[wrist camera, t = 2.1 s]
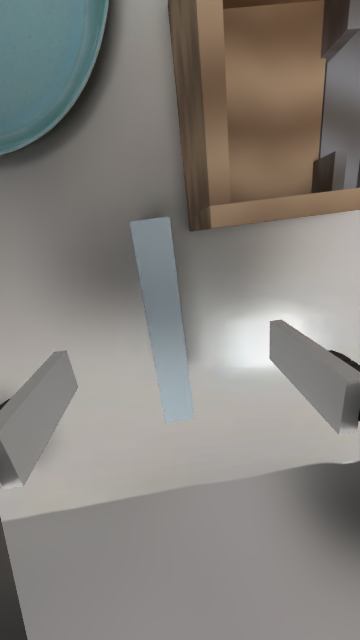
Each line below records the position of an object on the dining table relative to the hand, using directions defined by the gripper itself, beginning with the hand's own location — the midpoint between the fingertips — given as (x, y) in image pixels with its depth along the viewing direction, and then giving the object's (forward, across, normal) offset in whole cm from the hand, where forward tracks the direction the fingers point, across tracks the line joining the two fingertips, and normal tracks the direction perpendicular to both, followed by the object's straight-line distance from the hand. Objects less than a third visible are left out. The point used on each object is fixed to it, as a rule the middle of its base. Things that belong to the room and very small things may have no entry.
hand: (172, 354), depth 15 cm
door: (+11, 0, 0) cm, 11 cm away
